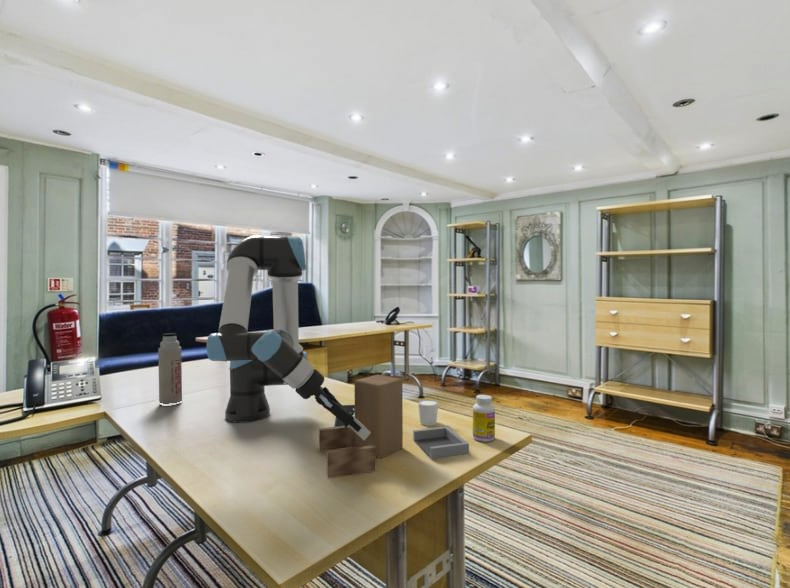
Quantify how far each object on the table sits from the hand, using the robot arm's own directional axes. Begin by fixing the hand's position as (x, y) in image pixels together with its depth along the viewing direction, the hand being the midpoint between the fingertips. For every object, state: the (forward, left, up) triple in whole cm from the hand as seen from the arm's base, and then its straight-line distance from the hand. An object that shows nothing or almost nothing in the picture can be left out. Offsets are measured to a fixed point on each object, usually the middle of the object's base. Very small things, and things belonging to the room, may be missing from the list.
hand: (367, 435), depth 111 cm
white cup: (+26, +21, -6) cm, 34 cm away
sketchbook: (+7, +31, -7) cm, 33 cm away
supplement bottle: (+37, +3, -6) cm, 38 cm away
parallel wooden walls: (-6, +1, -6) cm, 8 cm away
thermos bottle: (-63, +73, -6) cm, 96 cm away
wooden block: (+5, +5, -6) cm, 9 cm away
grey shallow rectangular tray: (+21, +1, -6) cm, 22 cm away
